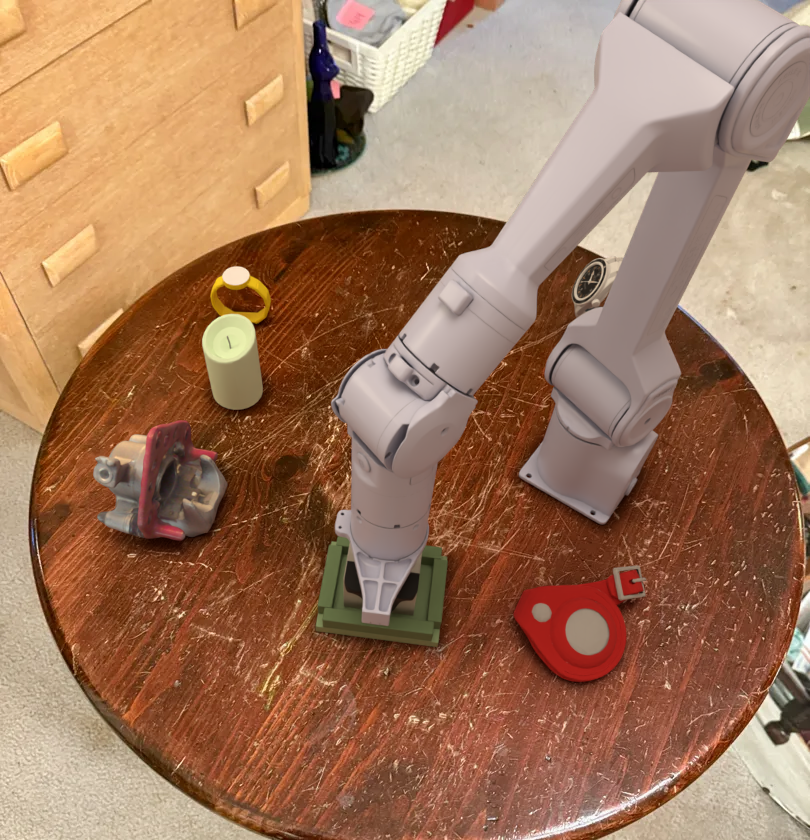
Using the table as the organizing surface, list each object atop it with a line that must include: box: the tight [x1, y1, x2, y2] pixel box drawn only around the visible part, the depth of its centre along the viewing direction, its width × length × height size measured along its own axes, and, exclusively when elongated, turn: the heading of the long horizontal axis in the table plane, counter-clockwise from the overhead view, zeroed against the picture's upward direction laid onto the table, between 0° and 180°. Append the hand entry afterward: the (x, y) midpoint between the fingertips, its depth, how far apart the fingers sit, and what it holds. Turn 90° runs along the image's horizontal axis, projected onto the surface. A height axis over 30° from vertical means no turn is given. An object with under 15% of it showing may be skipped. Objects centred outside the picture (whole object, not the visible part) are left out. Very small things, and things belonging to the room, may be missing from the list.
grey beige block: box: [343, 544, 422, 615], centre depth 68 cm, size 6×4×5 cm, turn 83°
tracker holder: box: [513, 564, 647, 683], centre depth 70 cm, size 12×4×10 cm
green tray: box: [315, 536, 449, 648], centre depth 70 cm, size 10×8×2 cm
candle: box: [201, 314, 264, 411], centre depth 78 cm, size 5×5×8 cm
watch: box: [571, 256, 624, 319], centre depth 83 cm, size 6×8×11 cm
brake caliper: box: [92, 419, 228, 542], centre depth 71 cm, size 11×11×12 cm
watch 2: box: [209, 266, 272, 325], centre depth 84 cm, size 6×3×6 cm, turn 86°
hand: (383, 583), depth 69 cm, fingers closed on grey beige block, 4 cm apart
